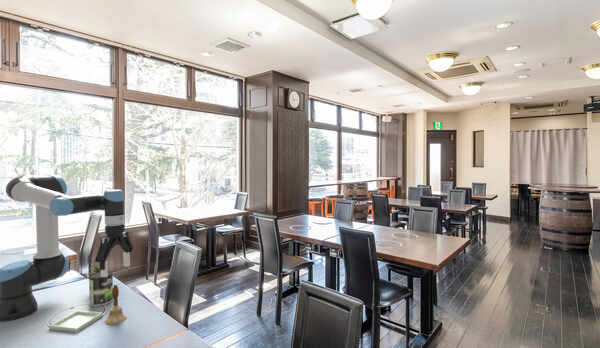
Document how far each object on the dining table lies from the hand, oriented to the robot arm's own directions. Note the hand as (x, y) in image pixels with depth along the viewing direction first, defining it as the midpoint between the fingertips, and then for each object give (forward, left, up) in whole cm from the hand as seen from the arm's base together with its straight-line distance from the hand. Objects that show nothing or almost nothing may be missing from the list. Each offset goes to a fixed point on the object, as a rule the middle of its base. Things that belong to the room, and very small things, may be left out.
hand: (116, 271), depth 137 cm
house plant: (-33, +26, -22) cm, 48 cm away
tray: (-15, -6, -22) cm, 27 cm away
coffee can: (-21, +14, -22) cm, 34 cm away
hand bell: (0, -1, -22) cm, 22 cm away
